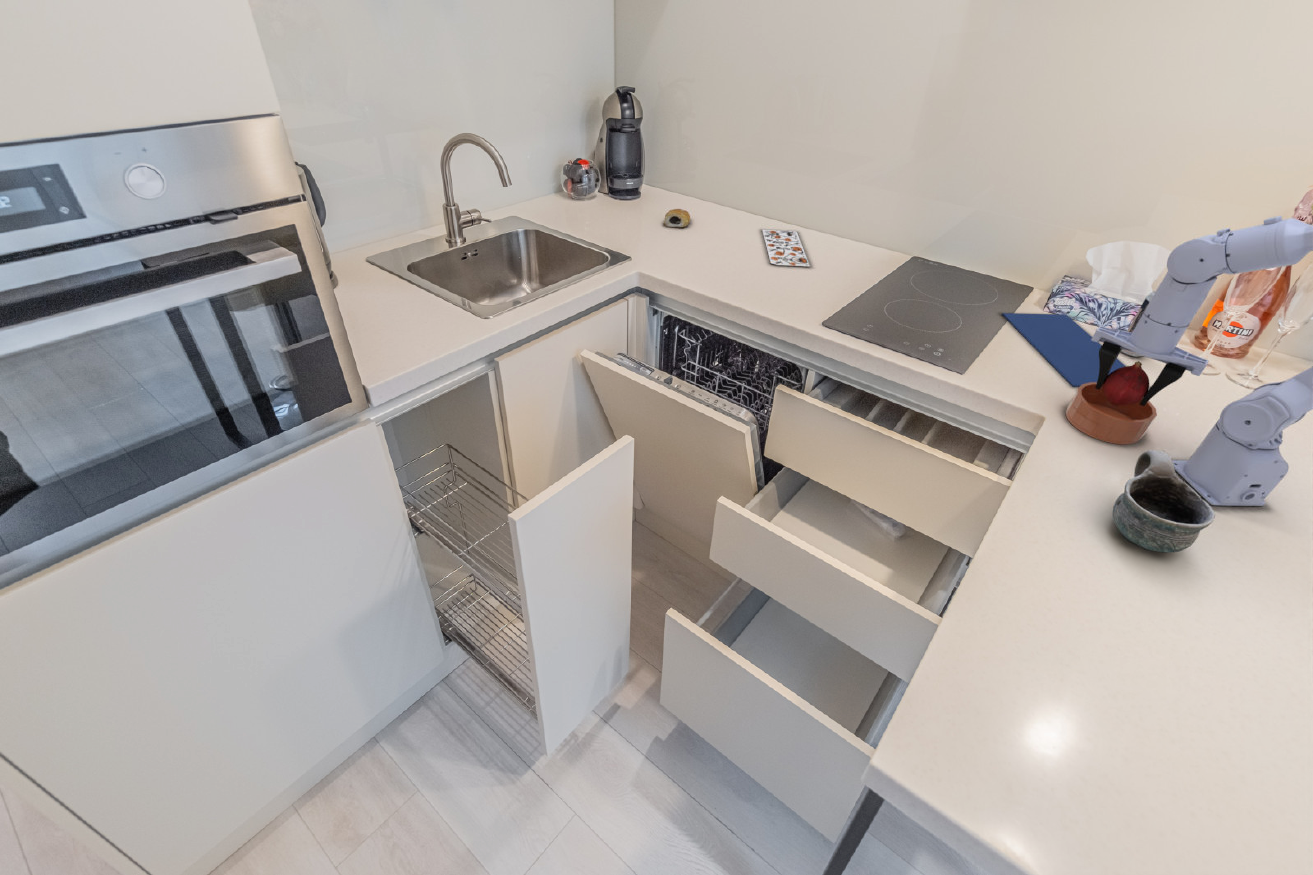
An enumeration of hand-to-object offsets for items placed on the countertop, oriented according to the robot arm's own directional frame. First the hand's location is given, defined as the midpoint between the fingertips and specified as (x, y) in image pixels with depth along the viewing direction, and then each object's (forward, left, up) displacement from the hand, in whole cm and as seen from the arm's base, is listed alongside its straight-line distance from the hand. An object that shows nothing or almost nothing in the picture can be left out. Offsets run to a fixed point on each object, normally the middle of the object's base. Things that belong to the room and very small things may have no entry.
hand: (1120, 394), depth 100 cm
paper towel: (+74, +40, -6) cm, 84 cm away
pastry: (+90, +67, -6) cm, 112 cm away
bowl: (0, 0, -6) cm, 6 cm away
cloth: (+25, -8, -6) cm, 27 cm away
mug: (-24, +10, -6) cm, 27 cm away
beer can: (+24, -20, -6) cm, 32 cm away
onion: (0, 0, -2) cm, 2 cm away
